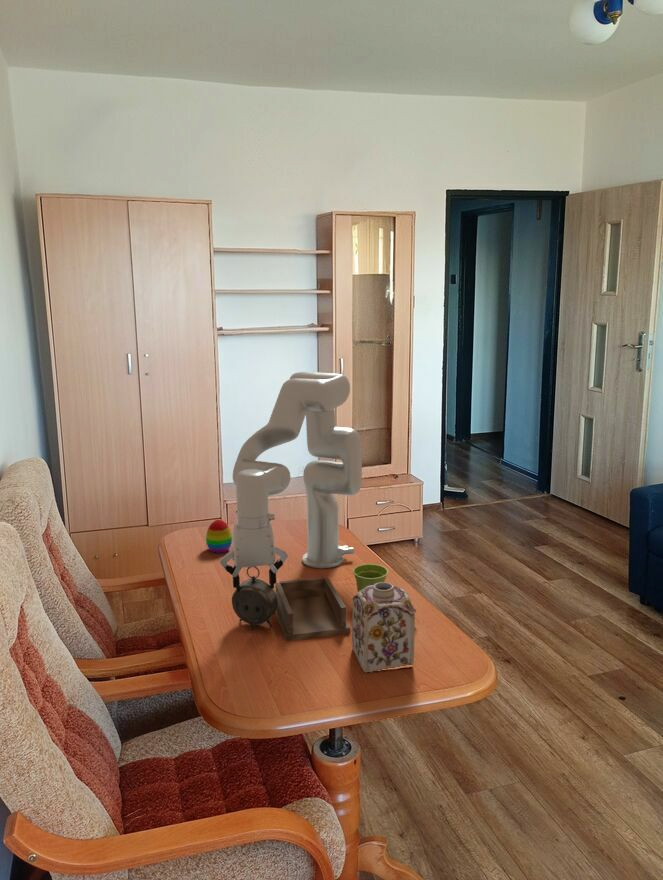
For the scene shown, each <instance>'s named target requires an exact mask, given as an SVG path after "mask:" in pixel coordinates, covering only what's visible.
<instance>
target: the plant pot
mask: <svg viewBox="0 0 663 880" xmlns="http://www.w3.org/2000/svg"><path fill="white" fill-rule="evenodd" d="M352 573H353V575H354V578H355V581H356V590H357V593H358V592H359V591H360V590H362V589H363V588H365V587H367V586H370V585H374V584H376V583H379V582H386V579H387V576H388V575H389V570H388V568H387V567H385V566H384V565H380V564H376V563H364V564H360V565H357V566H355V567H353V569H352Z"/></svg>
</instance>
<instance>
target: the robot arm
mask: <svg viewBox="0 0 663 880" xmlns="http://www.w3.org/2000/svg"><path fill="white" fill-rule="evenodd" d="M350 385H351V384H350V381H349V378H348V377H347V376H346V375H344V374H342V373H333V372H332V373H330V372H320V371H318V372H315V371H298V372H294V373H292V374H291V375H290V378H289V379H287V380H286V381H285V382H283V383H282V385H281V388H280V390H279V393H278V396H277V398H276V400H275V403H274V407H273V409H272V412H271V414H270V417H269V420H268V422H267V424H266V425H264V426H263V427H261V428H259V430H257V431H256V432H254V433H253V434H252V435H251V436H250V437H249V438H248V439H247V440H246V441H245V442H244V443H243V444H242V446H241V448H240V449H239V452H238V454H237V457H236V460H235V464H234V465H233V471H232V482H233V484H234V485H235V486H236V487H235V488H236V489H235V492H236V517H237V518H236V520H237V521H236V524H235V525H234V526H233V531H232V543H231V547H232V549H231V550H230V551H229V552H228V553H226V554H225V555H224V556H222V557H221V558H220V559H219V563H220V565H221V566H222V567H223V568H224V569H225V571H226V572H227V573H229V574H230V575H231V576H232V586H233V589H234V588H235V590H237V592H239V591H240V585H241V584H240V583H241V582H240V580H241V578H240V571H241V570H242V568H243V569H244V568H248V567H251V568H254V567H263V566H268V567H269V570H268V579H269V580H268V583H269V585H270V587H271V588H272V589H274V588H275V585H276V583H277V573H278V571H279V570H280V568H282V566H283V565H284V563H285V561H286V560H287V559H288V558H289V555H288V553H287V552H285V551H284V550H282V549H280V548H278V547H276V546H275V538H274V533H273V526H272V523H271V521H273V520H275V519H276V517H275V514H273V513H270V512H269V497H270V496H274V495H278V494H281V493H283V492H284V491H285V490H286V489H287V488H288V486H289V485H290V483H291V472H290V470H289V467H287V466H286V465H284V464H282V463H277V462H269V461H268V462H267V461H261V460H257V459H258V457H259V456H260V455H262V454H263V453H264V452H266V451H268V450H269V449H272V448H275V447H278V446H281V445H283V444H286V443H290V442H292V441H294V440H296V439H297V438H298V436H299V435H300V434H301V433H300V432H301V430H302V426H303V424H304V420H306V421H305V422H306V424H305V425H306V428H305V429H306V443H307V445H306V446H307V451H308V452H309V454H310V456H312V457H315V458H320V459H323V460H319V459H318V460H312V461H310V462H308V463H306V465H305V467H304V469H303V472H302V473H303V474H302V475H303V483H304V488H305V495H306V524H307V525H306V531H307V533H306V534H307V535H306V536H307V540H306V541H307V542H306V543H307V544H306V545H307V546H306V547H307V552H305V553H304V554H303V555H302V560H301V561H302V562H303V564H305V565H306V566H308V567H311V568H314V569H331V567H332V568H336V567H338V566H340V565H341V564H343V562H344V556H345V555H353V554H355V550H354V547H348V545H343V546H341V545H340V544H339V504H338V501H337V499H336V497H335V496H334V495H338V496H339V495H342V496H354V495H358V493H359V492H360V490H361V487H362V482H363V468H362V467H363V466H362V465H363V464H362V463H363V462H362V461H363V458H362V441H361V436H360V434H359V432H358V431H357V430H356V429H354V428H351V427H345V426H344V427H343V426H337V425H336V411H335V409H336V408H338V407H340V406H342V405H344V404H345V403H346V401H347V400H348V399H349V395H350V393H351V386H350ZM324 459H329V460H324ZM331 460H339V461H331ZM340 461H341V462H340ZM276 555H278V556H279V558H278V559H277V560H276ZM231 560H232V561H233V563H234V565H233V566H231V565H230V564H229V563H228V562H230V561H231Z"/></svg>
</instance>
